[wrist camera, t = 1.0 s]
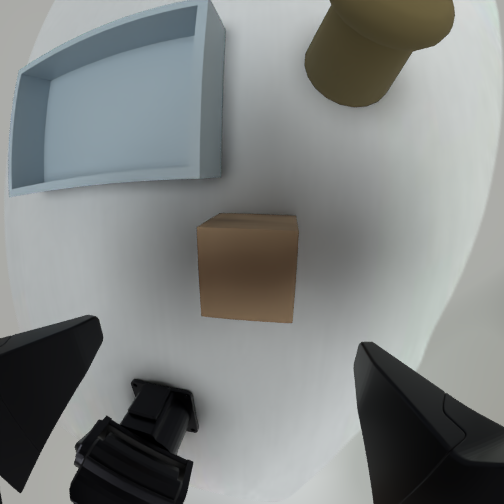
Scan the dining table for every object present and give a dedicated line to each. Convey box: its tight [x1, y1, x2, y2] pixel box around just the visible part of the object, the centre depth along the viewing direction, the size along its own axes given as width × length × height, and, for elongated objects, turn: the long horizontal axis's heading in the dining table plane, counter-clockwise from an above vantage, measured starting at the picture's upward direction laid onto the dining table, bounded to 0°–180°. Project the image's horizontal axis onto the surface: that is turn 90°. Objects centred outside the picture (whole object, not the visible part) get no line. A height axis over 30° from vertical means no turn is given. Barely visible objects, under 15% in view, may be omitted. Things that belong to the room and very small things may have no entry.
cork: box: [305, 0, 455, 107], centre depth 9 cm, size 6×6×11 cm
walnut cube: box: [197, 213, 299, 323], centre depth 16 cm, size 5×5×5 cm
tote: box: [8, 0, 226, 197], centre depth 15 cm, size 11×17×5 cm, turn 89°
